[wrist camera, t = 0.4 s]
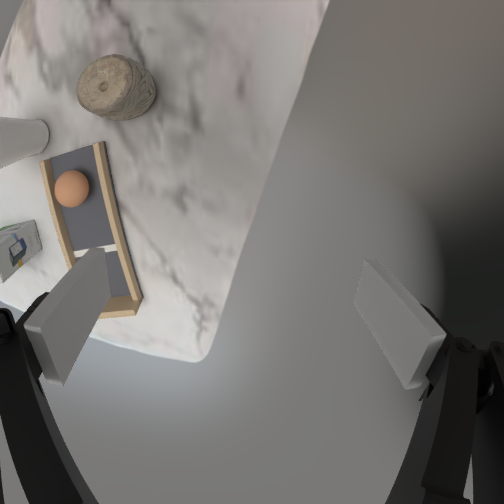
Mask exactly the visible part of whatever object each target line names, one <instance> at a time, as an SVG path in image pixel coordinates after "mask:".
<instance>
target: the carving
mask: <svg viewBox="0 0 504 504" xmlns="http://www.w3.org/2000/svg"><path fill="white" fill-rule="evenodd" d="M155 94H156V88H155V84H154V82H153V78H152V76H151V74H150V73H149V72H148V70H146V68H145V67H144V66H143V65H142V64H140V63H139V62H137V61H134V60H132V59H130V58H126V57H124V56H121V55H116V54H112V55H107V56H104V57H101V58H99V59H97V60H96V61H94V62H93V63H91V64H90V65H89V66H88V67H87V68H86V69H85V70H84V72H83V73H82V75H81V76H80V79H79V81H78V85H77V97H78V100H79V102H80V104H81V105H82V107H84V108H85V109H86V110H88V111H89V112H92V113H94V114H96V115H98V116H101V117H105V118H108V119H112V120H128V119H131V118H135V117H137V116H139V115H141V114H143V113H144V112H145V111H146V110H147V109H148V108H149V107H150V106H151V104H152V102H153V100H154V98H155Z"/></svg>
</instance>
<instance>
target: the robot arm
mask: <svg viewBox="0 0 504 504" xmlns="http://www.w3.org/2000/svg"><path fill="white" fill-rule="evenodd" d="M110 297H111V294H110V287H109V280H108V273H107V266H106V257H105V248H98V247H91V248H90V249H89V250H88V251H87V252H86V253H85V254H84V255H83V256H82V257H81V258H80V259H79V260H78V261H77V263H76V264H75V265H74V266H73V267H72V268H71V269H70V270H69V271H68V272H67V273H66V275H65V276H64V277H63V278H62V279H61V280H60V281H59V282H58V284H57V285H56V286H55V287H54V288H53V289H52V290H51V292H45V293H44V294H42V295H41V296H39V297H38V298H37V299H36V300H35V301H34V302H33V303H32V304H31V306H30V307H29V308H28V309H27V311H25V313H24V314H23V315H22V316H21V318H20V319H19V320H18V321H17V322H16V324H15V321H14V318H13V315H12V313H11V311H10V310H9V309H7V308H0V416H1V419H2V424H3V428H4V432H5V436H6V439H7V443H8V446H9V450H10V453H11V456H12V459H13V462H14V465H15V468H16V471H17V474H18V477H19V479H20V482H21V485H22V487H23V490H24V492H25V494H26V497H27V499H28V502H29V504H99V503H98V502H97V500H96V499H95V497H94V495H93V494H92V492H91V490H90V489H89V487H88V485H87V484H86V482H85V480H84V478H83V477H82V475H81V473H80V471H79V469H78V468H77V466H76V464H75V462H74V460H73V458H72V456H71V454H70V452H69V450H68V448H67V446H66V444H65V442H64V440H63V438H62V435H61V433H60V431H59V429H58V427H57V424H56V422H55V419H54V417H53V414H52V412H51V410H50V407H49V404H48V402H47V399H46V396H45V394H44V391H43V388H42V386H41V383H40V381H39V379H38V378H39V377H40V375H41V373H42V372H43V374H44V377H45V379H46V381H47V382H48V383H52V384H55V385H60V386H64V384H65V382H66V380H67V378H68V375H69V374H70V371H71V369H72V367H73V365H74V363H75V361H76V359H77V357H78V355H79V353H80V351H81V350H82V347H83V346H84V344H85V342H86V340H87V338H88V336H89V334H90V332H91V331H92V329H93V327H94V325H95V323H96V321H97V320H98V318H99V316H100V314H101V312H102V311H103V309H104V307H105V305H106V304H107V302H108V300H109V298H110ZM353 305H354V306H355V308H356V309H357V311H358V313H359V314H360V316H361V317H362V319H363V320H364V322H365V323H366V325H367V327H368V328H369V330H370V332H371V333H372V335H373V336H374V338H375V340H376V341H377V343H378V345H379V346H380V348H381V349H382V351H383V352H384V354H385V356H386V358H387V359H388V361H389V363H390V364H391V366H392V368H393V369H394V371H395V373H396V374H397V376H398V378H399V380H400V381H401V383H402V385H403V386H404V388H405V389H411V388H416V387H420V385H421V383H422V382H423V380H424V378H425V376H427V378H428V380H429V381H430V382H429V384H428V386H427V387H426V389H425V391H424V393H423V394H422V396H421V398H420V399H419V401H421V400H422V399H423V402H422V405H421V409H420V412H419V416H418V419H417V423H416V426H415V429H414V432H413V435H412V438H411V441H410V444H409V447H408V450H407V452H406V455H405V458H404V461H403V463H402V466H401V468H400V471H399V473H398V476H397V478H396V481H395V483H394V485H393V487H392V490H391V492H390V494H389V496H388V499H387V501H386V503H385V504H471V503H470V500H469V499H466V498H464V497H463V493H464V488H465V484H466V478H467V474H468V469H469V464H470V457H471V455H472V468H473V504H504V343H503V342H500V341H492V342H490V344H489V346H488V348H487V350H480V349H477V347H476V346H475V344H474V343H472V342H471V341H470V340H468V339H466V338H463V337H454V336H453V335H452V334H451V333H450V332H449V331H448V329H447V328H446V327H445V326H444V325H443V324H442V323H441V322H440V321H439V319H438V318H437V317H435V315H434V314H433V313H432V312H431V311H430V309H428V308H427V307H425V306H424V305H422V304H420V303H418V301H417V300H416V299H415V298H414V297H413V296H412V295H411V294H410V293H409V292H408V291H407V290H406V289H405V288H404V286H403V285H402V284H401V283H400V282H399V281H398V280H397V279H396V278H395V277H394V276H393V275H392V274H391V273H390V272H389V271H388V270H387V269H386V268H385V267H384V266H383V265H382V264H381V263H380V262H379V261H378V260H377V259H364V263H363V267H362V271H361V275H360V279H359V283H358V287H357V291H356V295H355V299H354V302H353ZM493 387H494V390H493V394H492V395H491V392H490V391H491V390H492V388H493ZM0 504H4V497H3V489H2V481H1V469H0Z"/></svg>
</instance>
